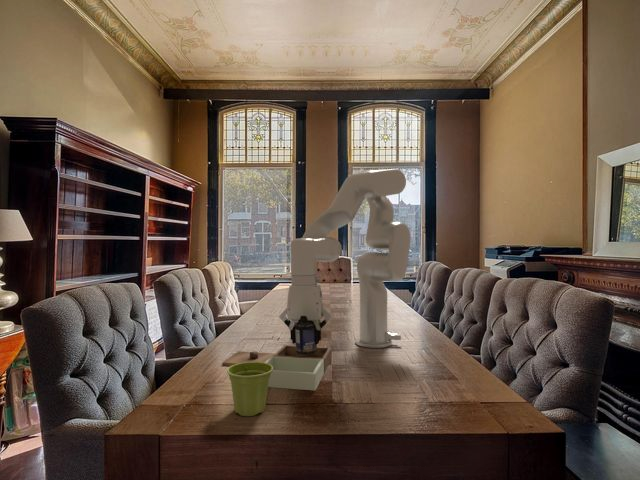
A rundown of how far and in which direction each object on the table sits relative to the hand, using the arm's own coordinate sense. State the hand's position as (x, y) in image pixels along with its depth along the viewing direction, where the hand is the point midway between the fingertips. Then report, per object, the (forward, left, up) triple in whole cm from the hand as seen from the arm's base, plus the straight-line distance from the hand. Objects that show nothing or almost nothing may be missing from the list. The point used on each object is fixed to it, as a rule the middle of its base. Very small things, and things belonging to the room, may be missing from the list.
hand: (306, 342), depth 109 cm
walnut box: (+1, +1, -6) cm, 6 cm away
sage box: (+1, +14, -6) cm, 15 cm away
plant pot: (+5, +33, -6) cm, 34 cm away
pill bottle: (0, 0, -3) cm, 3 cm away
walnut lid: (+16, +1, -6) cm, 17 cm away
